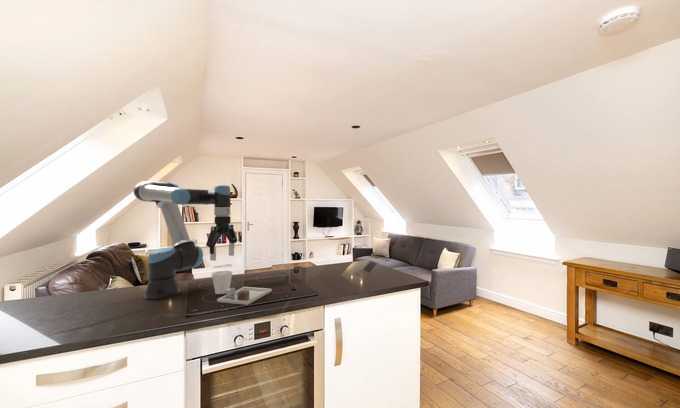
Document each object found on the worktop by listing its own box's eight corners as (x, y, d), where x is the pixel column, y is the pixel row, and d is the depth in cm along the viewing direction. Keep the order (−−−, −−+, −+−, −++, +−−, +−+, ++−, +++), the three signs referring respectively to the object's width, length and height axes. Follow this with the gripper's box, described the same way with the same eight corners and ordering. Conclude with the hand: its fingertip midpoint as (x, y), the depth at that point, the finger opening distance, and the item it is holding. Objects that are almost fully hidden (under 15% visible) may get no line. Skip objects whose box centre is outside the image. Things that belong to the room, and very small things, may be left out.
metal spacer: (223, 300, 129) (223, 289, 129) (229, 297, 133) (229, 287, 133) (231, 301, 128) (231, 290, 128) (236, 298, 132) (236, 287, 132)
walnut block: (237, 302, 127) (237, 293, 127) (240, 299, 131) (240, 290, 131) (246, 302, 127) (246, 293, 127) (249, 299, 131) (249, 290, 131)
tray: (217, 304, 128) (217, 298, 128) (244, 291, 147) (244, 286, 147) (247, 307, 123) (247, 301, 123) (271, 293, 142) (271, 288, 142)
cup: (228, 297, 138) (227, 275, 138) (207, 297, 138) (207, 275, 138) (235, 291, 148) (235, 270, 148) (217, 291, 148) (216, 270, 148)
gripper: (210, 217, 130) (211, 263, 130) (243, 215, 154) (244, 253, 154) (197, 216, 132) (197, 262, 132) (232, 215, 156) (232, 253, 156)
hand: (222, 257), depth 143 cm, fingers open, 13 cm apart
